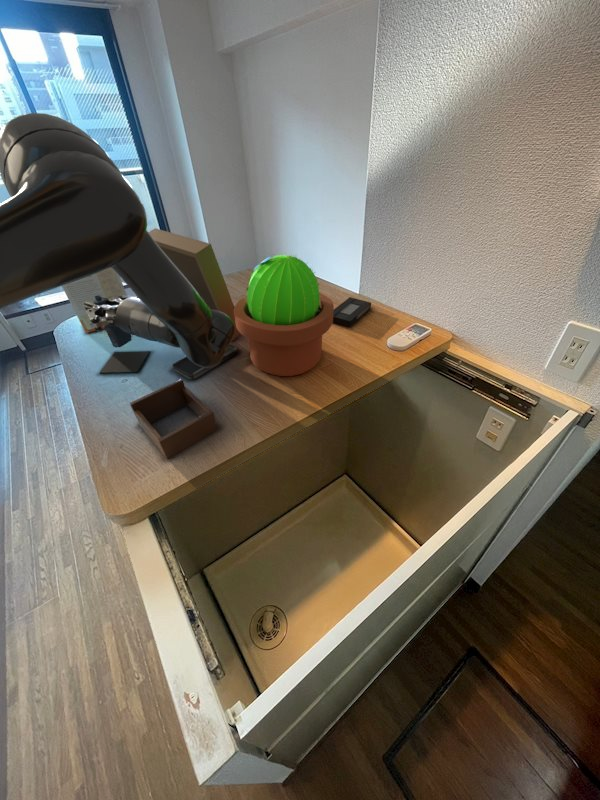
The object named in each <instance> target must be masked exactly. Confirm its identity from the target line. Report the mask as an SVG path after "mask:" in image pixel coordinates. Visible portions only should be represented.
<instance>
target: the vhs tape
mask: <svg viewBox="0 0 600 800" xmlns="http://www.w3.org/2000/svg"><path fill="white" fill-rule="evenodd" d="M371 308H372V302H371V301H367V300H363V299H358V298H355V297H348V298H347V299H345V300H343V302H342V303H340V304H339V305H338V306H336V307H335V308H334V311H333V323H332V324H337V325H340V326H344V327H347V328H350V327H352V326H353V325H354V324H355V323H356V322H357V321H359V319H361V318H362V317H363V316H364V315H365V314H366V313H368V312H369V311H370V310H371Z"/></svg>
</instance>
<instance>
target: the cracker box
mask: <svg viewBox="0 0 600 800" xmlns="http://www.w3.org/2000/svg"><path fill="white" fill-rule="evenodd" d="M61 287H62V290H63V292H64V293H65V295H66V297H67V299H68V301H69V303H70V305H71V307H72V309H73V311H74V313H75V315H76V317H77V319H78V321H79V323H80V324H81V326H82V328H83V331H84V333H85V334H90V333H92V332H96V331H95V329H94V327H93V324H92V322H91V320H90V318H89V316H88V313H87V311H86V309H85V307H84V303H85V302H90V303H94V302H93V301H94V300H96V299H95V296H98V295H99V296H100V297H103V298H108V299H110V298H114V299H118V298H117V297H118V296H128V294H127V292H126V289H125V287H124V284H123V281H122V278H121V277H120V276H119V275H118V274H117V273H116V272H115V270H114V269H113V268H112V267H110V268H108V269H105V270H103V271H100V272H98V273H96V274H93V275H90V276H88V277H85V278H82V279H80V280H77V281H74V282H71V283H68V284H66V285H63V286H61ZM101 328H102V330H105V328H104V326H103V327H101Z"/></svg>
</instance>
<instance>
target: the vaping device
mask: <svg viewBox="0 0 600 800" xmlns="http://www.w3.org/2000/svg"><path fill="white" fill-rule="evenodd" d="M95 299H96V300H94V301H93V302H94V304H97V305H100V306H102V305H104V304H105V305H107V303H106V300H105V299H101V297H100V296H99V295H98V296H95ZM104 330H105V332H106V334H107V336H108V339H109V341H110V343H111V346H113V347H114V348H120V349H121V348H122V347H124V346H125V345H127V344H129V342H131V341H132V339H133V338H132V337H133V335H132V334H129V333H126V332H124V331H123V330H122V329H120V328H119V327H117V326H109V325H104Z"/></svg>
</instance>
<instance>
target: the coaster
mask: <svg viewBox="0 0 600 800" xmlns="http://www.w3.org/2000/svg"><path fill="white" fill-rule="evenodd" d="M150 352H151V351H150V350H145V351H144V350H143V351H141V350H139V351H114V352H113V354H112V355H111V356H110V358H109V359H108V360H107V362H106V363H105V364H104V366H103V367H102V368H101V370H100V371H99V374H100V375H108V374H109V375H110V374H111V375H112V374H113V375H114V374H139V372H140V370H141V368H142V367H143V365H144V363H145V362H146V360H147V359H148V356H149V355H150Z"/></svg>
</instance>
